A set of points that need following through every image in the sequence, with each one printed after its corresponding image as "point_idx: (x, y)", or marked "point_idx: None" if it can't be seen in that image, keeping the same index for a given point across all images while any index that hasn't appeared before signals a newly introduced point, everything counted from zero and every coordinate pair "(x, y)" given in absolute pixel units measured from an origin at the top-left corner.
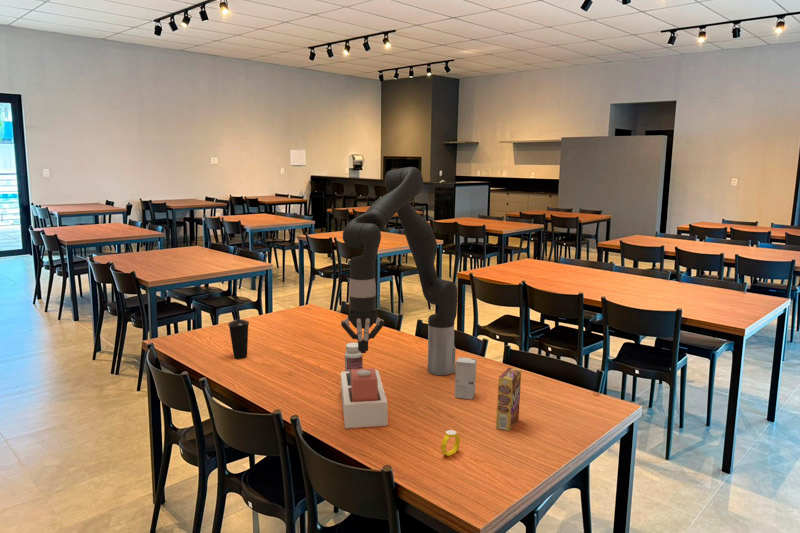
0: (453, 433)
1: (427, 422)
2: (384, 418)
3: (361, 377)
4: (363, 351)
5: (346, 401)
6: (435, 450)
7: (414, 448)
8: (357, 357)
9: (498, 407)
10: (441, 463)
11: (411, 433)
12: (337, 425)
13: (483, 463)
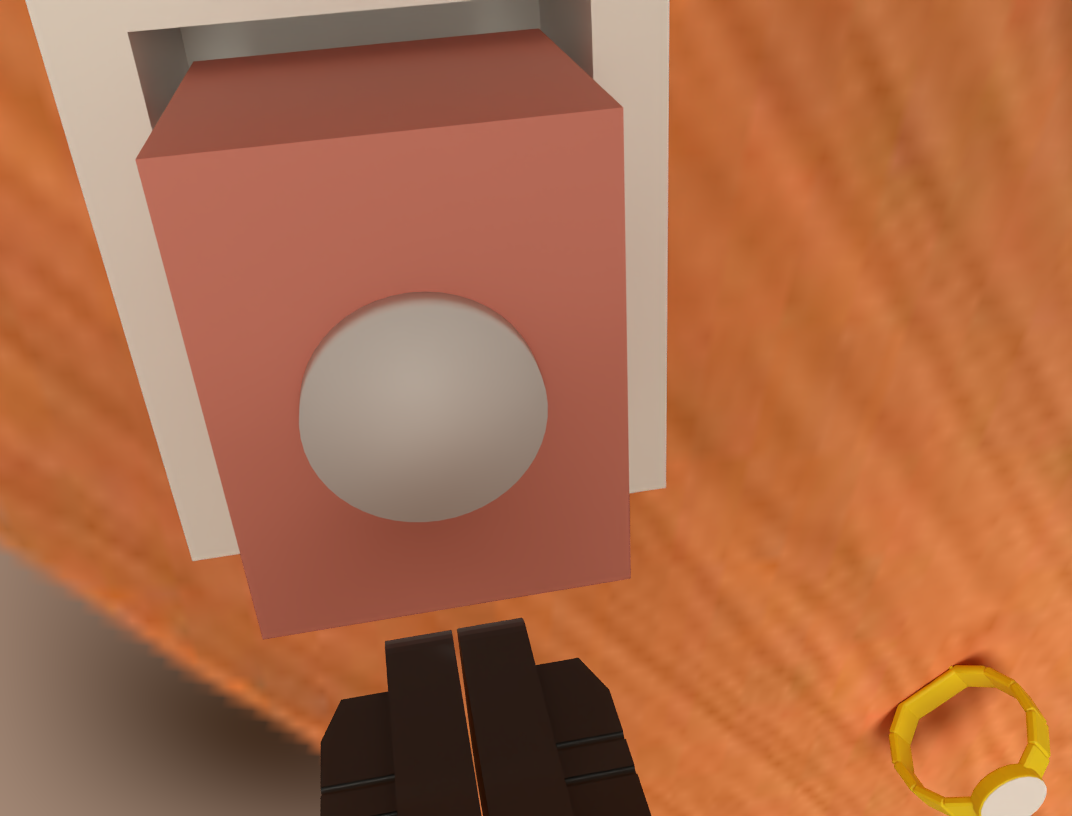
0: (1021, 812)
1: (941, 307)
2: None
3: (390, 526)
4: (477, 777)
5: (197, 478)
6: (861, 668)
7: (743, 656)
8: None
9: None
10: (849, 774)
11: (769, 481)
12: (130, 360)
13: (1054, 756)
